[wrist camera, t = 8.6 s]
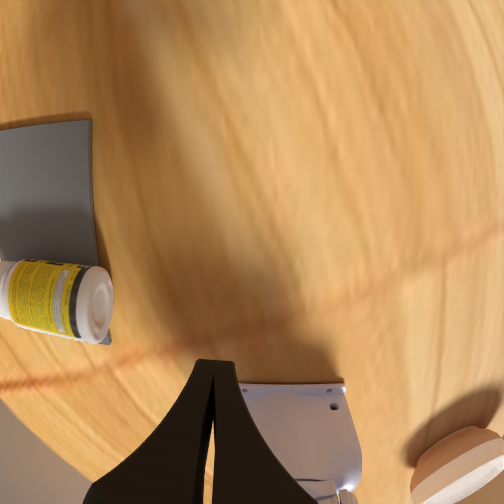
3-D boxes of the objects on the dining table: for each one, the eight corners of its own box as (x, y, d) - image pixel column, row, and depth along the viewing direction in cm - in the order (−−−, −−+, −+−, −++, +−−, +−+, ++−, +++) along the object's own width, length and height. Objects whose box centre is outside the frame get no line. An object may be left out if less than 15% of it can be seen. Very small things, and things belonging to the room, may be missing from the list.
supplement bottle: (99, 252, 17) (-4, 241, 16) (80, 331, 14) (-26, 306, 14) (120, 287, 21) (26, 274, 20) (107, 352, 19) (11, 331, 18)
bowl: (496, 395, 29) (523, 436, 22) (488, 439, 35) (505, 472, 28) (392, 455, 32) (408, 504, 25) (406, 485, 38) (418, 521, 30)
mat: (92, 119, 16) (88, 119, 16) (111, 341, 22) (109, 345, 22) (-10, 132, 15) (-14, 133, 15) (22, 324, 22) (20, 327, 21)
